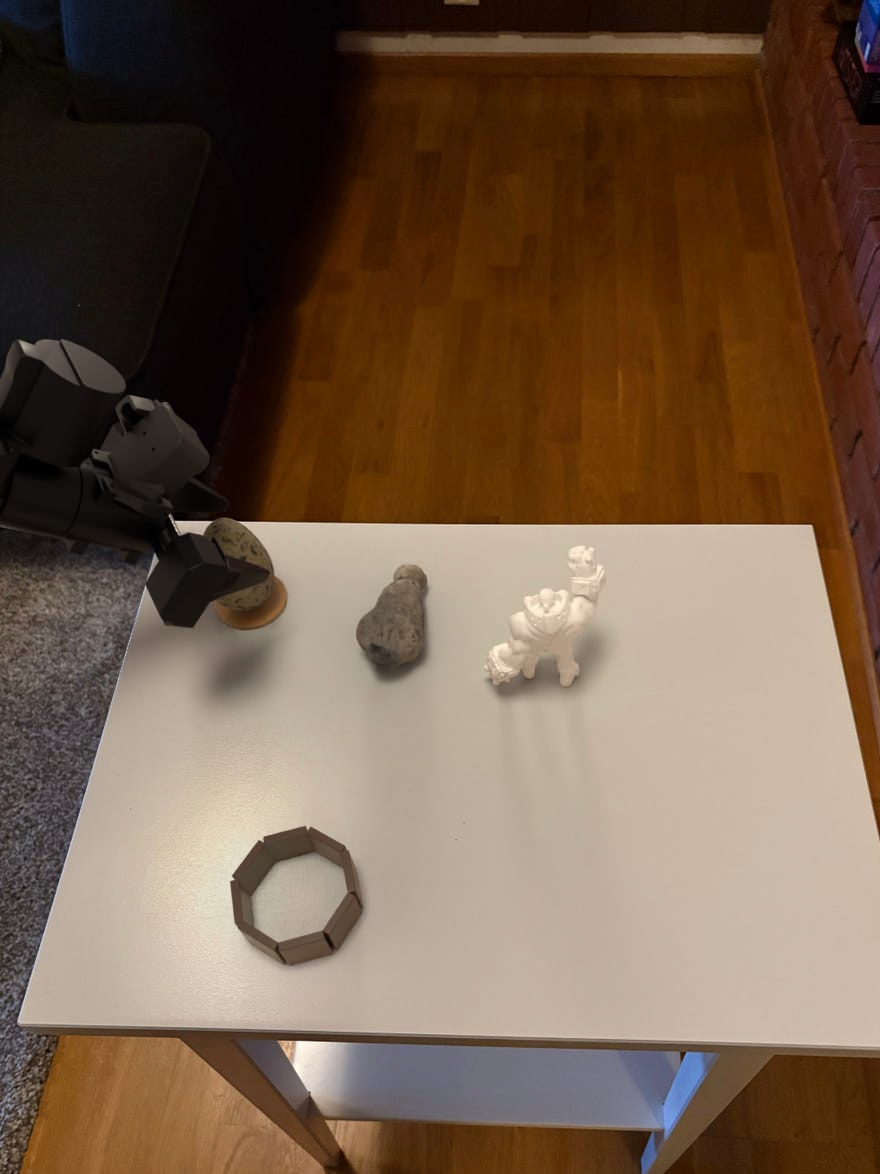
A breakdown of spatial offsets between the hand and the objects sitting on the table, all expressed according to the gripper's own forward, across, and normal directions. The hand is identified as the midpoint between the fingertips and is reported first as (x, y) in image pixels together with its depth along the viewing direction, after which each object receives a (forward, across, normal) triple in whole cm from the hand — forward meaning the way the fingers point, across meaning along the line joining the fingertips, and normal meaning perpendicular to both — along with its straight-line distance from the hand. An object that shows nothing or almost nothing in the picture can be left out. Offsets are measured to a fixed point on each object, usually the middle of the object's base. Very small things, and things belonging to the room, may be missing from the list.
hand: (246, 540), depth 75 cm
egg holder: (-1, -28, +11) cm, 30 cm away
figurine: (+18, -20, -7) cm, 27 cm away
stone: (+11, -10, 0) cm, 15 cm away
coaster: (+4, 0, +6) cm, 8 cm away
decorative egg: (+4, 0, +6) cm, 7 cm away
